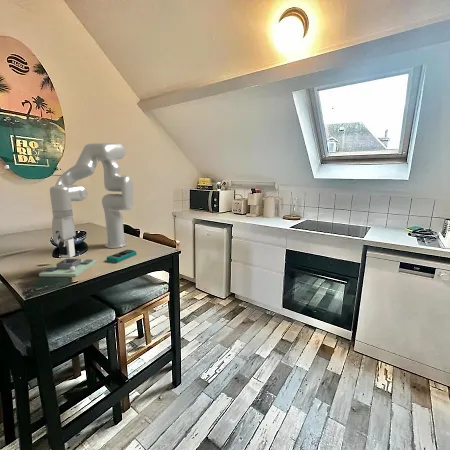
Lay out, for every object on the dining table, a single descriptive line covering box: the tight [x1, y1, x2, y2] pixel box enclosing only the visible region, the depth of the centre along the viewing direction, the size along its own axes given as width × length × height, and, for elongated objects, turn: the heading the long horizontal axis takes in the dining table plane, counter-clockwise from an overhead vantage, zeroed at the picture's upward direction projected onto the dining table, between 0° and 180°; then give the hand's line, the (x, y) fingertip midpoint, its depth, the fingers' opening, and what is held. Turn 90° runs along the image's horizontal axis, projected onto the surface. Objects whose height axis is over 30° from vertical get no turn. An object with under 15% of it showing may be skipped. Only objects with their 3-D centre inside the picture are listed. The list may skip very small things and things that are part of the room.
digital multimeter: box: [106, 249, 138, 264], centre depth 135 cm, size 7×15×3 cm, turn 157°
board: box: [38, 258, 97, 278], centre depth 119 cm, size 18×16×4 cm
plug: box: [60, 238, 76, 259], centre depth 117 cm, size 5×4×8 cm
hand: (67, 252), depth 118 cm, fingers closed on plug, 4 cm apart
